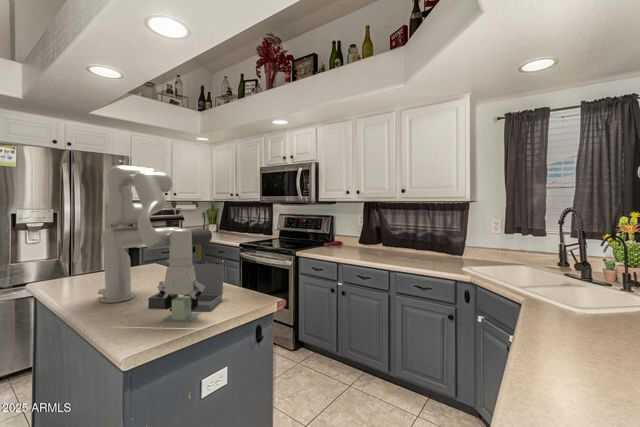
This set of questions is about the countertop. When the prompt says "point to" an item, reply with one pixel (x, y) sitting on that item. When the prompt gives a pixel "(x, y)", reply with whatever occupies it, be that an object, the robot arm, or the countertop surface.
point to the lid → (210, 278)
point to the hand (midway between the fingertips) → (181, 308)
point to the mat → (188, 319)
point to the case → (206, 302)
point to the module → (181, 308)
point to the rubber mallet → (200, 241)
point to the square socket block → (158, 301)
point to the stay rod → (164, 287)
